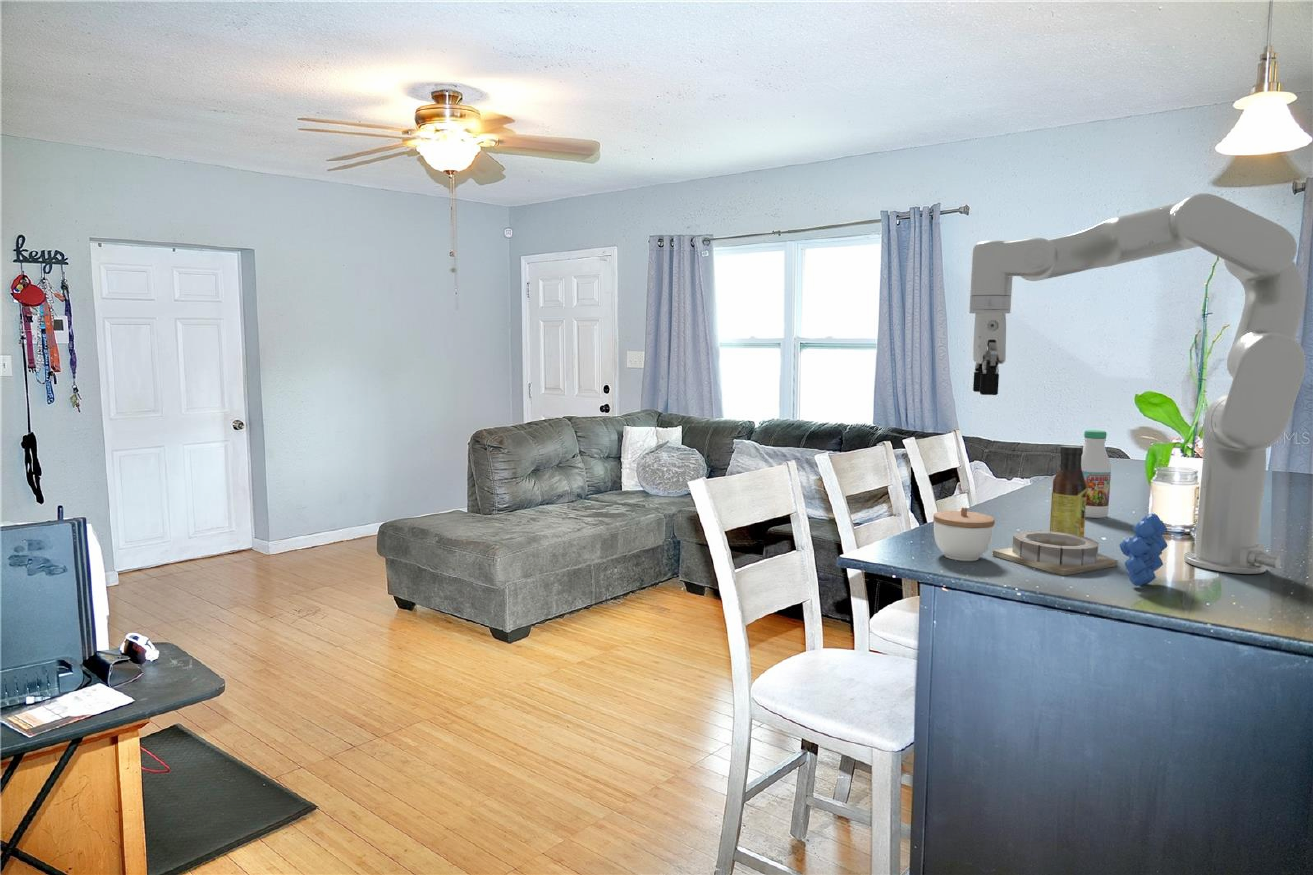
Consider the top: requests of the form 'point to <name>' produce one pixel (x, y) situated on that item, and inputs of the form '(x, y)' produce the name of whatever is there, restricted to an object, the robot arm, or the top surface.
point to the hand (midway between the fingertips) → (985, 393)
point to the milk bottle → (1096, 473)
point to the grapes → (1144, 550)
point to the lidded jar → (963, 534)
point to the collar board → (1055, 552)
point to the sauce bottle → (1069, 494)
